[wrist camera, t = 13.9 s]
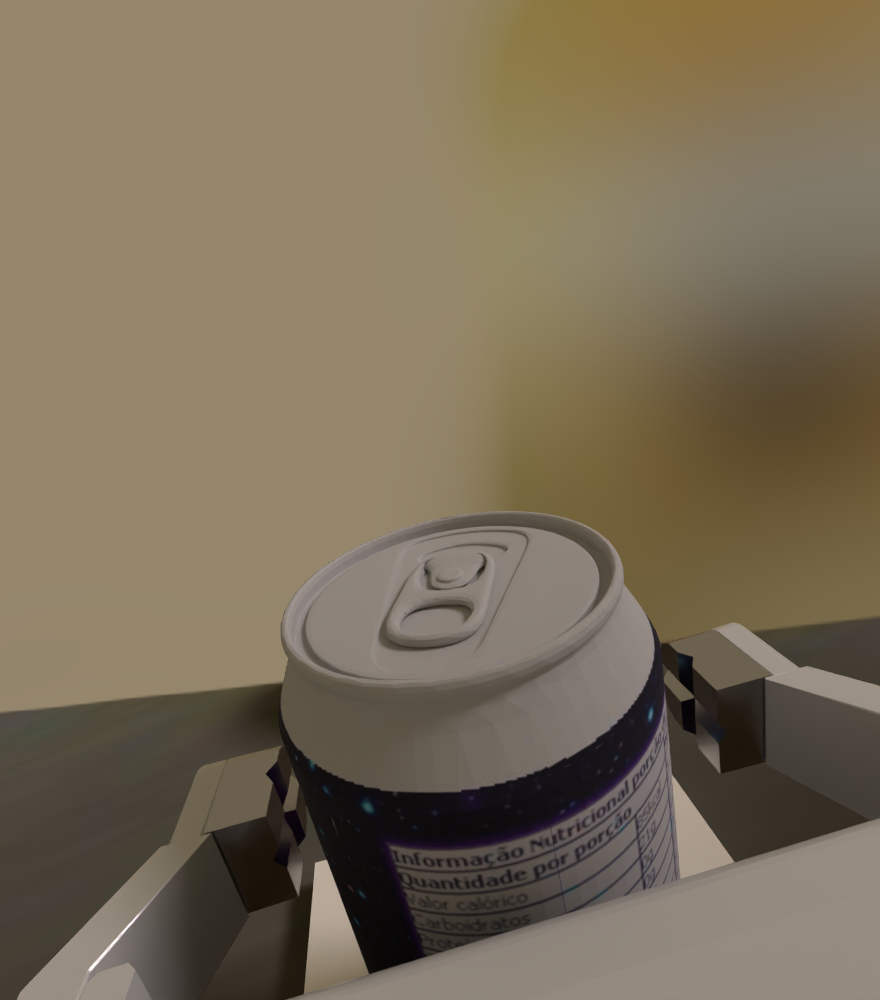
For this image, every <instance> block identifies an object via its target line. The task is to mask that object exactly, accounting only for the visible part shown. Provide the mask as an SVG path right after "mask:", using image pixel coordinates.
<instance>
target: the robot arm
mask: <svg viewBox="0 0 880 1000" xmlns="http://www.w3.org/2000/svg"><path fill="white" fill-rule="evenodd" d="M661 650H662V662H663V664H664V665H665V667H666V668H667V669H668V672H667V673H666V675H665V677H664V686H665V698H666V701H667V704H668V707H669V709H670V711H671V713H672V715H673V716H674V718H675V720H676V721H677V722H678V723H679V725H680V726H681V727H682V728H683V729H684V730H686V731H689V732H691V733H693V734H696V735H697V747H698V748H699V749H700V750H701V751H702V753H703V754H704V755H705V756H706V757H707V759H708V760H709V761H710V762H711V763H712V764H713V766H714V767H715V768H716V769H717V770H718V772H719V773H720V774H722V773H726V772H729V771H733V770H737V769H741V768H745V767H749V766H753V765H756V764H760V763H764V762H766V765H767V766H769V767H771V768H773V769H775V770H777V771H779V772H781V773H783V774H784V775H786V776H788V777H790V778H792V779H794V780H796V781H798V782H799V783H801V784H803V785H805V786H807V787H809V788H811V789H813V790H815V791H816V792H818V793H820V794H822V795H824V796H826V797H828V798H830V799H832V800H833V801H835V802H837V803H839V804H841V805H843V806H845V807H847V808H849V809H850V810H852V811H854V812H856V813H858V814H860V815H862V816H864V817H866V818H867V819H869V820H871V821H868V822H865V823H862V824H859V825H855V826H852V827H849V828H845V829H842V830H839V831H836V832H832V833H829V834H826V835H823V836H819V837H816V838H813V839H810V840H806V841H803V842H800V843H796V844H793V845H790V846H787V847H783V848H780V849H777V850H774V851H770V852H767V853H764V854H760V855H757V856H754V857H751V858H747V859H744V860H741V861H738V862H734V863H731V864H728V865H724V866H721V867H718V868H715V869H711V870H708V871H705V872H702V873H698V874H695V875H692V876H688V877H685V878H682V879H679V880H675V881H672V882H669V883H666V884H662V885H659V886H656V887H652V888H649V889H646V890H643V891H639V892H636V893H633V894H629V895H626V896H623V897H620V898H616V899H613V900H610V901H607V902H603V903H600V904H597V905H594V906H590V907H587V908H584V909H581V910H577V911H574V912H571V913H567V914H564V915H561V916H558V917H554V918H551V919H548V920H545V921H541V922H538V923H535V924H532V925H528V926H525V927H522V928H518V929H515V930H512V931H509V932H505V933H502V934H499V935H496V936H492V937H489V938H486V939H483V940H479V941H476V942H473V943H469V944H466V945H463V946H460V947H456V948H453V949H450V950H447V951H443V952H440V953H437V954H434V955H430V956H427V957H424V958H420V959H417V960H414V961H411V962H407V963H404V964H401V965H398V966H394V967H391V968H388V969H385V970H381V971H378V972H375V973H371V974H368V975H365V976H362V977H358V978H355V979H352V980H349V981H345V982H342V983H339V984H336V985H332V986H329V987H326V988H322V989H319V990H316V991H313V992H309V993H306V994H303V995H300V996H296V997H293V998H290V999H287V1000H880V686H878V685H874V684H870V683H867V682H863V681H859V680H856V679H852V678H848V677H845V676H841V675H838V674H834V673H830V672H827V671H823V670H819V669H816V668H812V667H808V666H806V667H803V668H799V667H797V666H796V665H795V664H793V663H792V662H791V661H789V660H788V659H787V658H785V657H784V656H782V655H781V654H780V653H778V652H777V651H776V650H774V649H773V648H772V647H770V646H769V645H768V644H766V643H765V642H764V641H762V640H761V639H760V638H758V637H757V636H756V635H754V634H753V633H752V632H750V631H749V630H747V629H746V628H745V627H743V626H742V625H741V624H737V623H734V622H733V623H730V624H727V625H723V626H720V627H717V628H713V629H710V630H709V631H706V632H702V633H699V634H695V635H691V636H688V637H684V638H680V639H677V640H673V641H669V642H666V643H662V645H661ZM291 769H292V764H291V762H290V759H289V756H288V754H287V751H286V748H285V747H284V746H279V747H275V748H271V749H267V750H263V751H259V752H255V753H251V754H247V755H243V756H239V757H235V758H230V759H229V760H224V761H220V762H216V763H212V764H208V765H204V766H202V767H201V768H200V769H199V770H198V771H197V773H196V776H195V778H194V781H193V784H192V786H191V789H190V792H189V794H188V797H187V799H186V802H185V805H184V807H183V810H182V813H181V815H180V818H179V820H178V823H177V826H176V828H175V831H174V833H173V836H172V839H171V841H170V844H169V845H166V846H162V847H160V848H159V849H158V850H157V851H156V852H155V853H154V854H153V855H152V856H151V857H150V858H149V859H148V861H147V862H146V863H145V864H144V865H143V866H142V867H141V868H140V869H139V870H138V871H137V872H136V873H135V874H134V875H133V876H132V877H131V878H130V879H129V880H128V881H127V882H126V883H125V884H124V885H123V886H122V887H121V888H120V889H119V891H118V892H117V893H116V894H115V895H114V896H113V897H112V898H111V899H110V900H109V901H108V902H107V903H106V904H105V905H104V906H103V907H102V908H101V909H100V910H99V911H98V912H97V913H96V914H95V915H94V916H93V917H92V918H91V919H90V921H89V922H88V923H87V924H86V925H85V926H84V927H83V928H82V929H81V930H80V931H79V932H78V933H77V934H76V935H75V936H74V937H73V938H72V939H71V940H70V941H69V942H68V943H67V944H66V945H65V946H64V947H63V948H62V949H61V951H60V952H59V953H58V954H57V955H56V956H55V957H54V958H53V959H52V960H51V961H50V962H49V963H48V964H47V965H46V966H45V967H44V968H43V969H42V970H41V971H40V972H39V973H38V974H37V975H36V976H35V977H34V978H33V979H32V981H31V982H30V983H29V984H28V985H27V986H26V987H25V988H24V989H23V990H22V991H21V992H20V994H19V996H18V998H17V1000H199V999H200V997H201V996H202V994H203V992H204V991H205V989H206V987H207V986H208V984H209V982H210V981H211V979H212V977H213V976H214V974H215V972H216V971H217V969H218V967H219V966H220V964H221V962H222V961H223V959H224V957H225V956H226V954H227V952H228V951H229V949H230V947H231V946H232V944H233V942H234V941H235V939H236V937H237V936H238V934H239V932H240V930H241V929H242V927H243V925H244V924H245V922H246V920H247V919H248V917H249V915H248V913H251V912H254V911H257V910H260V909H263V908H266V907H269V906H272V905H275V904H279V903H282V902H285V901H288V900H291V899H294V898H297V897H299V890H300V882H301V873H302V864H303V858H302V856H301V853H300V850H299V848H298V846H299V845H300V843H301V842H302V841H303V839H304V838H305V836H306V826H307V814H306V802H305V800H304V797H303V794H302V792H301V789H300V786H299V783H298V781H297V779H296V778H294V777H293V776H291Z"/></svg>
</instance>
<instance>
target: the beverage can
mask: <svg viewBox="0 0 880 1000" xmlns="http://www.w3.org/2000/svg"><path fill="white" fill-rule="evenodd" d="M623 583H624V575H623V567H622V563H621V560H620V557H619V555H618V553H617V551H616V550H615V549H614V547H613V546H612V545H611V543H610V542H609V541H608V540H607V539H606V538H604V537H603V536H602V535H601V534H599V533H598V532H597V531H595V530H593V529H591V528H589V527H588V526H586V525H584V524H581V523H579V522H576V521H573V520H570V519H567V518H562V517H559V516H554V515H549V514H543V513H535V512H518V511H497V512H496V511H495V512H482V513H470V514H462V515H456V516H450V517H445V518H440V519H435V520H430V521H426V522H422V523H418V524H415V525H412V526H408V527H405V528H402V529H398V530H396V531H392V532H389V533H387V534H385V535H382V536H379V537H377V538H375V539H372V540H370V541H368V542H365V543H363V544H361V545H359V546H357V547H355V548H353V549H351V550H349V551H347V552H345V553H344V554H342V555H340V556H339V557H337V558H336V559H334V560H332V561H331V562H329V563H328V564H326V565H325V566H324V567H322V568H321V569H320V570H318V571H317V572H316V573H314V575H312V576H311V577H310V578H309V579H308V580H307V581H306V582H305V583H304V584H303V585H302V586H301V587H300V588H299V589H298V591H297V592H296V593H295V594H294V596H293V597H292V599H291V601H290V602H289V604H288V606H287V608H286V609H285V611H284V615H283V619H282V622H281V641H282V646H283V649H284V651H285V654H286V655H287V657H288V663H287V667H286V672H285V677H284V681H283V686H282V691H281V696H280V704H279V727H280V733H281V736H282V740H283V743H284V745H285V748H286V751H287V754H288V756H289V759H290V762H291V764H292V767H293V770H294V773H295V775H296V778H297V781H298V783H299V786H300V789H301V792H302V794H303V797H304V800H305V802H306V805H307V808H308V810H309V813H310V816H311V819H312V821H313V824H314V827H315V829H316V832H317V835H318V838H319V840H320V843H321V846H322V848H323V851H324V854H325V856H326V859H327V862H328V865H329V867H330V870H331V873H332V875H333V878H334V881H335V884H336V886H337V889H338V892H339V894H340V897H341V900H342V903H343V905H344V908H345V911H346V913H347V916H348V919H349V921H350V924H351V927H352V930H353V932H354V935H355V938H356V940H357V943H358V946H359V949H360V951H361V954H362V957H363V959H364V962H365V965H366V968H367V970H368V973H369V974H371V973H375V972H378V971H381V970H385V969H388V968H391V967H394V966H398V965H401V964H404V963H407V962H411V961H414V960H417V959H420V958H424V957H427V956H430V955H434V954H437V953H440V952H443V951H447V950H450V949H453V948H456V947H460V946H463V945H466V944H469V943H473V942H476V941H479V940H483V939H486V938H489V937H492V936H496V935H499V934H502V933H505V932H509V931H512V930H515V929H518V928H522V927H525V926H528V925H532V924H535V923H538V922H541V921H545V920H548V919H551V918H554V917H558V916H561V915H564V914H567V913H571V912H574V911H577V910H581V909H584V908H587V907H590V906H594V905H597V904H600V903H603V902H607V901H610V900H613V899H616V898H620V897H623V896H626V895H629V894H633V893H636V892H639V891H643V890H646V889H649V888H652V887H656V886H659V885H662V884H666V883H669V882H672V881H675V880H679V879H680V868H679V856H678V844H677V832H676V819H675V807H674V795H673V783H672V771H671V759H670V747H669V735H668V723H667V711H666V699H665V686H664V674H663V662H662V650H661V646H660V641H659V638H658V636H657V633H656V631H655V629H654V627H653V625H652V623H651V621H650V620H649V618H648V617H647V615H646V614H645V612H644V611H643V609H642V608H641V606H640V605H639V604H638V602H637V601H636V600H635V598H634V597H633V596H632V594H631V593H630V592H629V590H628V589H627V588H626V586H625V585H624V584H623Z"/></svg>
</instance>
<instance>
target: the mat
mask: <svg viewBox="0 0 880 1000" xmlns="http://www.w3.org/2000/svg"><path fill="white" fill-rule="evenodd" d="M672 783H673V795H674V807H675V819H676V832H677V844H678V856H679V868H680V879H682V878H685V877H688V876H692V875H695V874H698V873H702V872H705V871H708V870H711V869H715V868H718V867H721V866H724V865H728V864H731V863H734V861H733V859H732V858H731V857H730V855H729V854H728V852H727V851H726V850H725V848H724V847H723V845H722V844H721V843H720V841H719V840H718V838H717V837H716V836H715V834H714V833H713V831H712V830H711V829H710V827H709V826H708V824H707V823H706V822H705V820H704V819H703V817H702V816H701V815H700V813H699V812H698V810H697V809H696V808H695V806H694V805H693V803H692V802H691V801H690V799H689V798H688V796H687V795H686V794H685V792H684V791H683V789H682V788H681V787H680V785H679V784H678V782H677V781H676V780H675V778H674V777H673V775H672ZM368 974H369V973H368V970H367V968H366V965H365V962H364V959H363V957H362V954H361V951H360V949H359V946H358V943H357V940H356V938H355V935H354V932H353V930H352V927H351V924H350V921H349V919H348V916H347V913H346V911H345V908H344V905H343V903H342V900H341V897H340V894H339V892H338V889H337V886H336V884H335V881H334V878H333V875H332V873H331V870H330V867H329V865H328V862H327V860H324V861H321V862H317V863H315V873H314V884H313V896H312V907H311V919H310V930H309V942H308V953H307V964H306V976H305V987H304V994H306V993H309V992H313V991H316V990H319V989H322V988H326V987H329V986H332V985H336V984H339V983H342V982H345V981H349V980H352V979H355V978H358V977H362V976H365V975H368Z"/></svg>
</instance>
